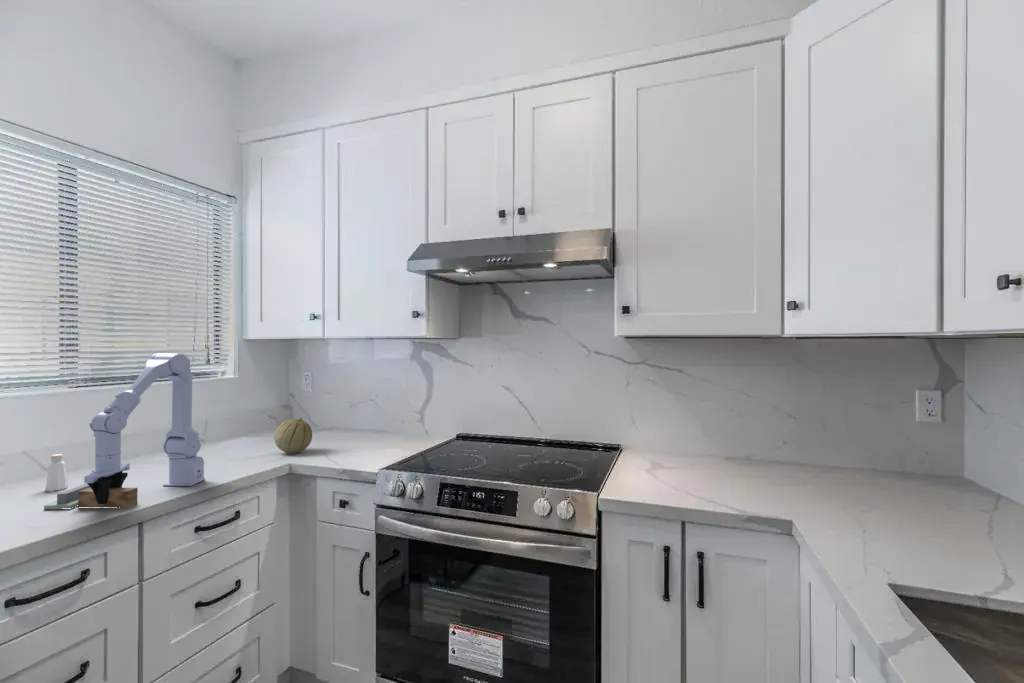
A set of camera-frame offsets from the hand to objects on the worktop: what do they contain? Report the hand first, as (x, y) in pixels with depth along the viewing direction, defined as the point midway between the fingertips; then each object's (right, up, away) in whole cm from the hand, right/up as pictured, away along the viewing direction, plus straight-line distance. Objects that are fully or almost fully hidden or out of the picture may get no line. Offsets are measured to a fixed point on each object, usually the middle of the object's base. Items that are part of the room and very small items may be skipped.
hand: (108, 501), depth 142 cm
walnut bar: (0, -2, 0) cm, 2 cm away
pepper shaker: (-30, -2, +16) cm, 34 cm away
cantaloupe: (+23, -2, +68) cm, 72 cm away
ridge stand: (-12, -1, +7) cm, 14 cm away
